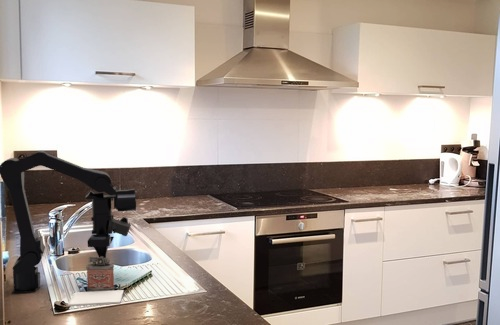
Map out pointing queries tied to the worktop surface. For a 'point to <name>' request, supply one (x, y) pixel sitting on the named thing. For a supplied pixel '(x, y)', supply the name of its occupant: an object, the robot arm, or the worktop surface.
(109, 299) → the mat
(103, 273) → the lighter
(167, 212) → the worktop surface
